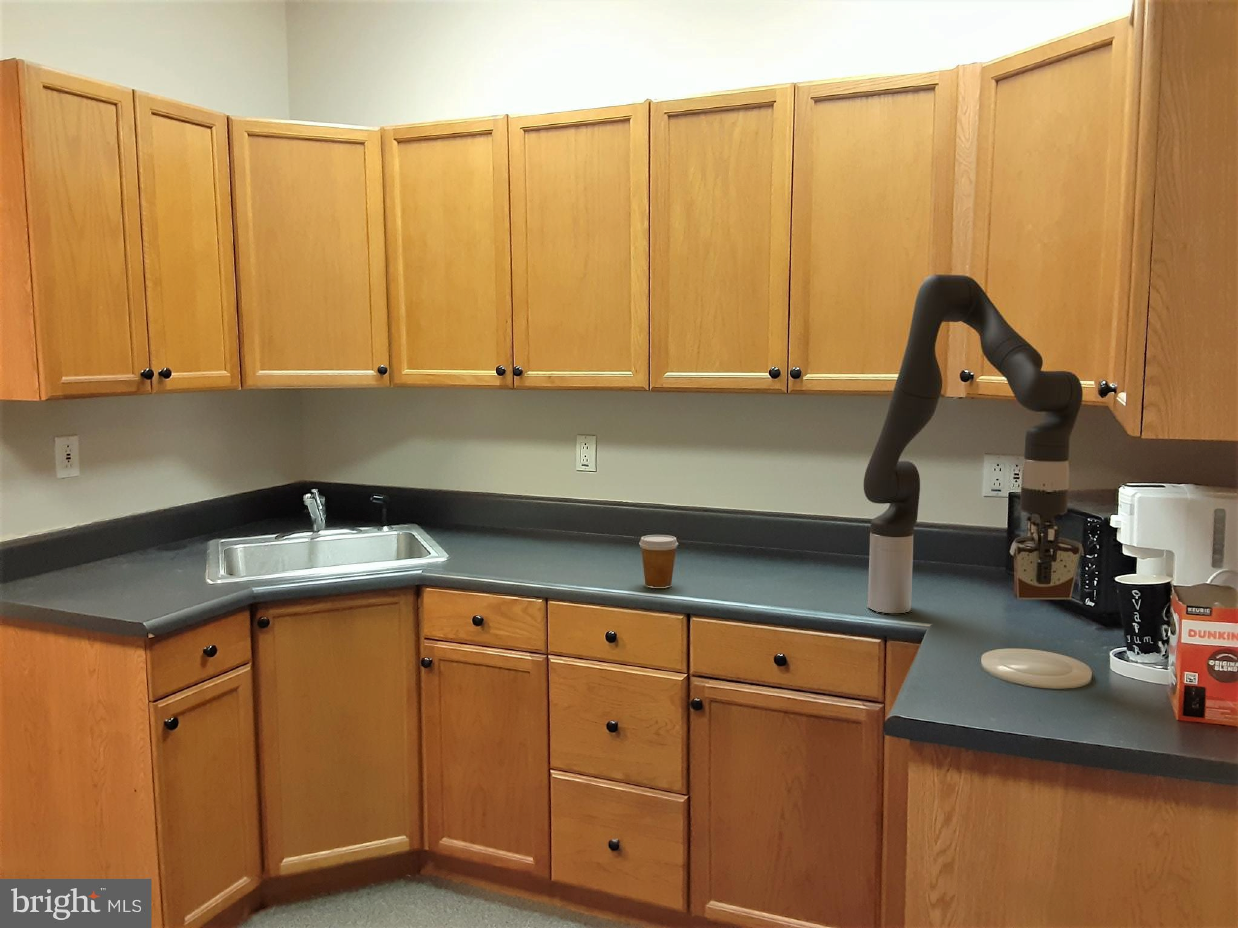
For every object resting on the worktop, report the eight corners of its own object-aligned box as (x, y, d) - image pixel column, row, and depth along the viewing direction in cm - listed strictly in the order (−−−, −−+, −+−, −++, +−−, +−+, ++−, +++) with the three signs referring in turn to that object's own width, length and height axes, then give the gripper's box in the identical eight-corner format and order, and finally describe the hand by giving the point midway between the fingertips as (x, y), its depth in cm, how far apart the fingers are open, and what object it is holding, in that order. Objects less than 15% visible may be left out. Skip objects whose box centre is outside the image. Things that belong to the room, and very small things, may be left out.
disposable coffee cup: (683, 583, 226) (683, 536, 225) (669, 592, 218) (669, 543, 216) (648, 579, 230) (648, 533, 229) (632, 588, 222) (632, 539, 220)
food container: (1062, 587, 166) (1067, 534, 164) (1079, 599, 160) (1084, 544, 158) (994, 587, 166) (999, 534, 164) (1008, 599, 160) (1013, 544, 158)
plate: (973, 651, 174) (974, 644, 174) (1076, 658, 170) (1076, 651, 170) (989, 683, 157) (990, 676, 156) (1104, 692, 152) (1104, 685, 152)
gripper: (1013, 479, 167) (1009, 569, 169) (1030, 490, 153) (1025, 588, 155) (1057, 480, 166) (1052, 571, 168) (1078, 491, 152) (1072, 590, 154)
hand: (1039, 579), depth 161 cm, fingers closed on food container, 5 cm apart
